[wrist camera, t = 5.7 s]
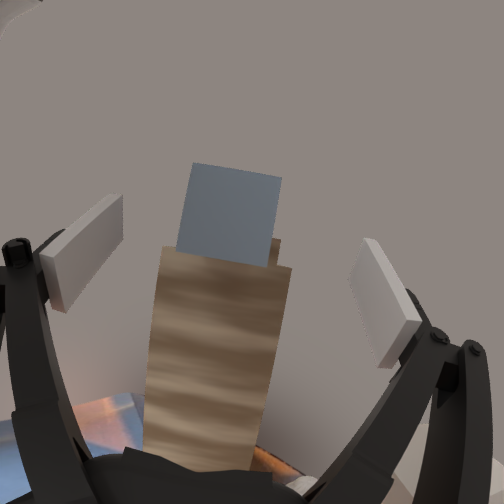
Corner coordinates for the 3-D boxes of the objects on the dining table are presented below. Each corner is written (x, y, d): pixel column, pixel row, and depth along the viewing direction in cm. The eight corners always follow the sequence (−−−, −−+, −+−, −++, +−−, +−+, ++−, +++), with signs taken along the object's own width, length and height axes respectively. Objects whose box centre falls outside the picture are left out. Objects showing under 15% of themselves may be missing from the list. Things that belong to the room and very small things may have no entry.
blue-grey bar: (266, 267, 13) (281, 177, 13) (175, 251, 13) (192, 162, 13) (246, 258, 37) (252, 226, 37) (213, 253, 37) (219, 220, 37)
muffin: (277, 495, 33) (288, 461, 33) (319, 501, 31) (333, 468, 32) (269, 522, 27) (282, 489, 27) (317, 529, 25) (334, 496, 26)
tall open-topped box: (230, 539, 23) (298, 229, 24) (144, 524, 23) (169, 207, 23) (230, 465, 39) (273, 239, 40) (166, 454, 38) (195, 225, 39)
